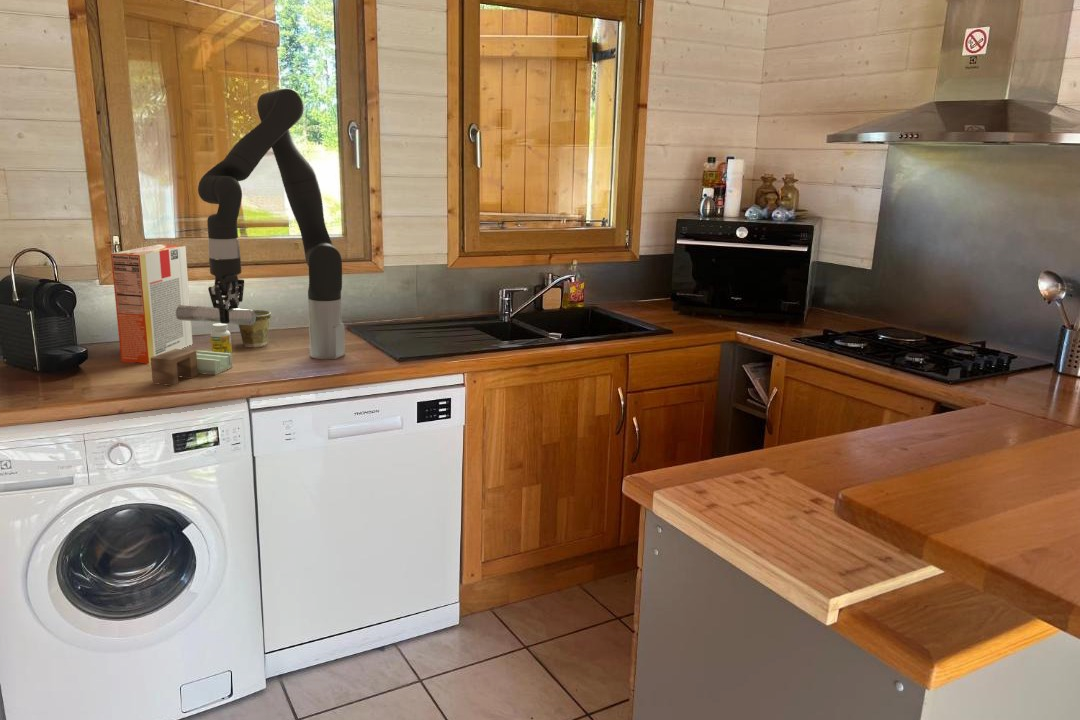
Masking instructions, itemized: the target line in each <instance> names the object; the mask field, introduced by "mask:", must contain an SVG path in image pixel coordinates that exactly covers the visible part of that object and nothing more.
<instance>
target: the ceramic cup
mask: <svg viewBox="0 0 1080 720" xmlns="http://www.w3.org/2000/svg"><path fill="white" fill-rule="evenodd" d="M253 310H254V311H255V314H256V320H255V323H254V324H253V325H242V324H237V325H238V328H239V332H240V333H239V334H240V336H241V340H242V344H243V345H244V347H246V346H252V347H251V348H257V347H256V346H262V347H264V346H266V345H267V343H268V339H269V331H270V330H269V329H270V328H269V327H270V323H271V316H272V315H271V313H272V312H271V311H269V310H265V309H263V310H262V309H253ZM263 345H264V346H263Z"/></svg>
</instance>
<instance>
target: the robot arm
mask: <svg viewBox="0 0 1080 720" xmlns="http://www.w3.org/2000/svg"><path fill="white" fill-rule="evenodd" d="M256 105H257V106H256V107H257V113H258V117H259V119H260V123H258V124H257V126H255V127H254V128H252V129H251V130H250V131H249V132H248V133H246V134H244V135H243V137H242V138H240V139H239V140H238V141H237V142H236V143H235V144H234V145H233V146H232V148H231V149H230V151H229V152H228V154H227V155H226V156H225V158H224V159H223V160H222V161H220V162H218V163H217V164H215V165H214V166H213V167H212V168H211V169H210V170H208V171H207V172H206V173H205V174H204V175H203V176H202V177H201V178H200V180H199V182H198V186H197V193H198V195H199V197H200V199H201V200H202V201H203V202H205V203H208V204H213V205H218V207H217V212H216V213H213V214H210V215H209V216H208V217H207V219H206V220H207V221H206V223H207V234H208V235H207V236H208V242H207V244H208V245H207V250H208V263H209V264H208V265H209V273H210V274H211V275H212V276H214V285H213V286H208V293H209V296H210V297H209V298H210V300H211V304H212V307H214V308H217V309H219V314H220V323H222V324H227V325H229V324H228V323H229V309H228V308H233V309H239V305H240V303H243V300H244V290H245V280H244V279H239V278H238V275H241V273H242V259H241V257H242V256H241V246H240V242H239V233H238V232H239V231H238V230H239V229H238V219H239V216H240V209H241V204H242V199H243V190H242V186H241V184H240V182H242V181H245V180H246V179H248V178H249V177H250V175H251V174H252V173H253V172H254V170H255V169H256V168H257V166H258V165H259V163H260V161H262V159H263V158H264V156H265V155H266V154H267V153H268V151H270V149H272V152H273V156H274V159H275V161H276V164H277V165H276V166H277V168H278V170H279V174H280V177H281V182H282V185H283V188H284V192H285V194H286V195H285V196H286V197H287V200H288V203H289V206H290V209H291V212H292V214H293V216H294V218H295V221H296V223H297V226H298V229H299V232H300V236H301V241H302V245H303V251H304V256H305V262H306V264H307V266H308V290H307V299H308V302H307V303H308V329H309V330H308V332H309V356H310V357H311V358H313V359H317V360H319V359H320V360H330V359H331V360H332V359H333V360H337V359H339V358H340V357H343V356H344V355H346V348H345V347H346V346H345V343H346V342H345V339H346V338H345V337H346V335H345V323H344V322H342V291H343V289H342V288H343V261H342V256H341V253H340V252H339V250H338V249H337V248H336V247H334V244H333V242H332V239H331V237H330V235H329V232H328V229H327V225H326V222H325V217H324V216H325V215H324V206H323V197H322V193H321V188H320V185H319V181H318V178H317V175H316V172H315V170H314V168H313V167H312V165H311V163H310V162H309V161H308V160H307V158H306V157H305V156H304V155H303V153H301V151H300V150H299V149H298V148H297V146H296V143H295V142H294V140H293V138H292V135H291V131H290V129H291V128H293V127H294V126H295V125H296V124H297V123H299V121H300V120H301V118H302V117H303V114H304V110H305V109H304V108H305V107H304V101H303V99H302V97H301V96H300V94H299V93H298V92H296V91H295V90H293V89H291V88H281V89H275V90H272V91H268V92H264V93H262V94H261V95H259V98H258V99H257V102H256Z"/></svg>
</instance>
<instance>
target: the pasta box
mask: <svg viewBox="0 0 1080 720" xmlns="http://www.w3.org/2000/svg"><path fill="white" fill-rule="evenodd" d="M186 248H187V246H186V245H176V244H174V245H173V244H162V243H161V244H154V245H149V246H144V247H143V246H142V247H138V248H134V249H128V250H122V251H117V252H112V253H110V258H111V268H112V270H111V271H112V279H113V280H112V281H113V288H114V301H115V311H116V319H117V329H118V331H117V332H118V338H119V349H120V359H121V362H122V363H133V362H140V363H139V364H148V363H149V364H151V357H154V356H157V355H160V354H163V353H165V352H168V351H171V350H174V349H182V348H184V347H186V348H188V347H190V346H189V345H191V346H192V344H193V332H192V331H193V330H192V321H183V320H178V319H177V317H176V309H177V307H178V306H179V305H187V306H191V305H190V289H189V288H190V287H189V277H188V275H189V274H188V264H187V263H188V261H187V250H186ZM187 346H188V347H187ZM184 349H185V348H184Z"/></svg>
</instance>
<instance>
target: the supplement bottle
mask: <svg viewBox="0 0 1080 720" xmlns="http://www.w3.org/2000/svg"><path fill="white" fill-rule="evenodd" d="M211 327H212V330H213V331H211V333H210V344H211V345H210V346H211V352H221V353H231V356H233V349H232V347H233V345H232V334H231V332H230V331H229V330H228V328H229V326H228V324H222V323H212V326H211Z"/></svg>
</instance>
